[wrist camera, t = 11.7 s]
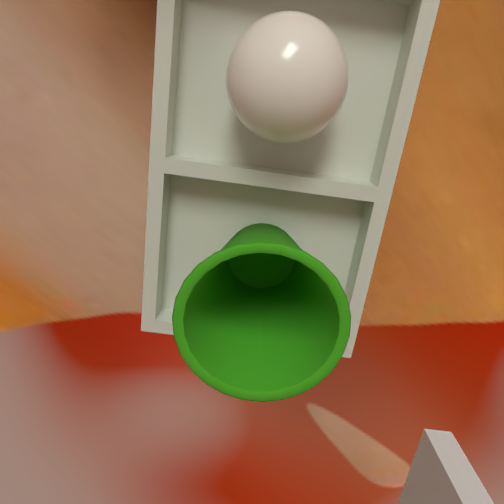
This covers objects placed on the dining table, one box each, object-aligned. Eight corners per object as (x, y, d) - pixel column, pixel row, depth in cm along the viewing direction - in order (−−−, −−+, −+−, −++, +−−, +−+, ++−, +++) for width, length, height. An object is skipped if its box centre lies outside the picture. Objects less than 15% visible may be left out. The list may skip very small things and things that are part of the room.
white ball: (225, 131, 28) (213, 138, 21) (237, 16, 26) (228, -16, 19) (326, 145, 28) (345, 157, 22) (347, 32, 26) (376, 6, 19)
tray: (151, 312, 34) (141, 330, 31) (172, -46, 25) (160, -65, 23) (343, 337, 34) (350, 358, 31) (425, -8, 26) (445, -23, 23)
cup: (323, 194, 29) (357, 241, 19) (319, 308, 32) (346, 403, 22) (198, 196, 30) (163, 244, 19) (205, 309, 33) (179, 403, 22)
